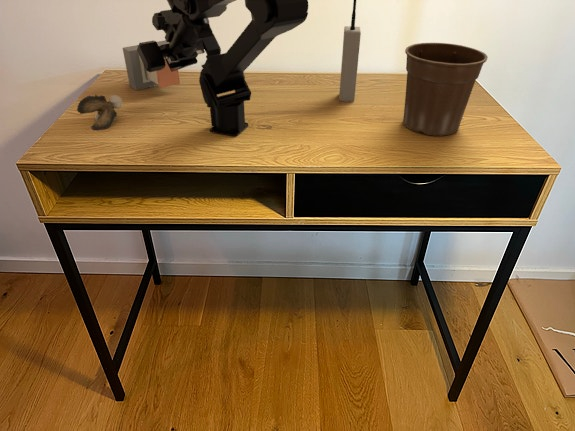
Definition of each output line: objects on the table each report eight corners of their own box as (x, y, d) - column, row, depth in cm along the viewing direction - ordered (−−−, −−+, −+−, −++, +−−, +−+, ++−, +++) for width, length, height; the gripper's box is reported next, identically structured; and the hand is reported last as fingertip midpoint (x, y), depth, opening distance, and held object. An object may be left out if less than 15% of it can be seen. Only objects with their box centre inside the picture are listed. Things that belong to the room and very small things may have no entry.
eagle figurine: (88, 109, 106) (69, 117, 98) (101, 82, 104) (83, 89, 96) (117, 127, 108) (102, 137, 100) (131, 102, 105) (116, 110, 97)
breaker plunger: (179, 83, 118) (176, 58, 114) (160, 88, 115) (156, 62, 111) (162, 73, 124) (158, 49, 120) (143, 77, 121) (139, 52, 118)
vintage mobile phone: (353, 94, 119) (363, -12, 104) (354, 102, 114) (364, -9, 100) (339, 94, 119) (347, -13, 104) (339, 101, 115) (347, -9, 100)
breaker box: (178, 81, 126) (173, 43, 120) (136, 90, 119) (129, 51, 114) (170, 77, 128) (165, 40, 123) (129, 86, 122) (122, 47, 116)
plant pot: (439, 107, 112) (453, 39, 103) (484, 134, 100) (505, 59, 90) (381, 116, 107) (390, 45, 98) (421, 145, 95) (436, 67, 86)
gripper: (210, -6, 104) (191, 34, 118) (132, 3, 94) (121, 46, 108) (231, 37, 104) (210, 73, 117) (155, 51, 94) (141, 89, 107)
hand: (171, 69), depth 112 cm, fingers closed
